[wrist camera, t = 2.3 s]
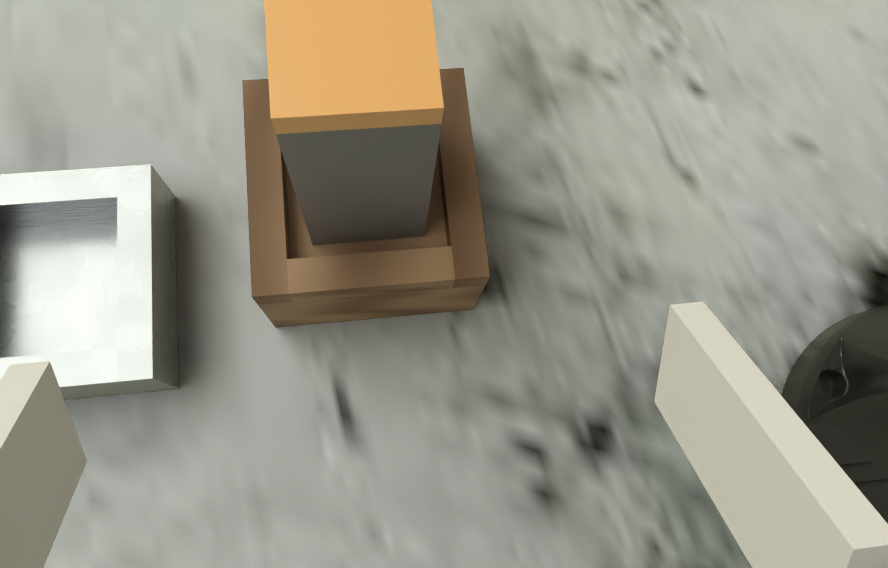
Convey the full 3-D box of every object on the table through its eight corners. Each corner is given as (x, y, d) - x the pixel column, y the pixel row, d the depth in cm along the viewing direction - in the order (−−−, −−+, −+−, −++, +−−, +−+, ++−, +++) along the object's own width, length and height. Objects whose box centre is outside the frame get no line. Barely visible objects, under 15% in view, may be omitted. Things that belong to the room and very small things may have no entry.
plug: (413, 135, 34) (426, -39, 22) (424, 236, 33) (443, 108, 21) (306, 142, 34) (262, -32, 22) (312, 245, 32) (270, 118, 21)
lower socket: (175, 196, 38) (150, 164, 34) (178, 388, 35) (152, 378, 31) (-29, 210, 37) (-78, 179, 33) (-40, 409, 34) (-94, 401, 30)
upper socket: (451, 131, 40) (463, 68, 33) (472, 309, 37) (489, 276, 31) (266, 144, 39) (242, 80, 32) (275, 327, 36) (251, 296, 30)
